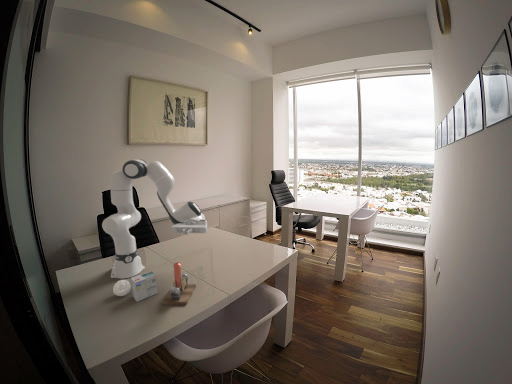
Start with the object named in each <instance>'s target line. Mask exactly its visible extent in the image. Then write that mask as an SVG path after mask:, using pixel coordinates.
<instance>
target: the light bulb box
mask: <svg viewBox="0 0 512 384" xmlns="http://www.w3.org/2000/svg"><path fill="white" fill-rule="evenodd" d="M130 284H131V291H132V297H134V298H133V299H134V300H135V302H136V303H138V302H140V301H142V300H145V299H147V298H150V297H152V296H154V295H157V294H158V283H157V275H156V273H155V272H154V271H152V270H150V271H147V272H144V273H141V274H137V275H135V276H132V277H130Z"/></svg>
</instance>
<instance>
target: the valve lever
mask: <svg viewBox="0 0 512 384" xmlns="http://www.w3.org/2000/svg"><path fill="white" fill-rule="evenodd" d="M173 273H174V274H173V277H174V280H175V287H177V288H180V287H181V286H182V275H181V274H182V267H181V262H174V263H173Z"/></svg>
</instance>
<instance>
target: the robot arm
mask: <svg viewBox="0 0 512 384" xmlns="http://www.w3.org/2000/svg"><path fill="white" fill-rule="evenodd" d="M143 177H148V178H149V179H150V180H151V181H152V182H153V183H154V185H155V186H156V189H157V191H156V195H157V197H158V200H159V201H160V204H161V205H162V206H163V208H164V210H165V211H166V213H167V216H169V219H170V222H171V223H172V224H173V225H171V227H170V228H171V229H170V231H171V233H172V234H177V233H179V234H182V235H189V234H207V232H208V221H207V220H206V216H205V214H204V213H202V211H201V210H202V209H200V207H199V205H198V204H197V203H195V202H193V201H187V202H186V203H184V204H183V205H181V206H179V208H177V209H175V207H174V206H173V204H172V202H171V201H170V199H169V196H170V194H171V192H172V190H173V189H174V187H175V185H176V184H175V183H176V181H175V179H176V178H175V177H174V176H173V174H172V173H171V172H170V171H169V169H167V167H166V166H165V165H164V164H163V163H162V162H160V161H159V160H152V161H150V162H148V163H147V162H146V160H144V159H141V158H134V159H130V160H128V161H126V162H125V163H123V165H122V169H119V170H115V171H114V172H112V173H111V177H110V199H111V200H110V201H111V204H112V205H114V206H116V208H117V209H116V210H117V213H113V214H111V215H109V216H108V217H106V218H104V219H103V221H102V223H101V227H102V229H103V231H104V232H105V233H106V234H108V235H109V236H110V237H111V238H112V240H113V243H114V250H115V254H114V258H115V260H114V262H112V263H111V267H112V268H111V272H110V278H111V279H129V278H132V277H135V276H138V275H139V274H140V273H141V272H142V271H143V270H144V269H146V268H145V266H144V265H143V264H142V259H141V257H140V256H139V255H138V253H139V251H138V249H137V243H136V238H135V237H136V236H134V235H132V234H131V233H130V230H129V229H131V228H132V227H135V226H136V225H137V224H138V223H140V221H141V219H142V214H141V212H140V211H139V210H137V208H136V207H135V202H134V197H133V196H134V195H133V181H134V180H137V179H140V178H143Z"/></svg>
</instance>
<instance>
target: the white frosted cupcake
mask: <svg viewBox="0 0 512 384" xmlns="http://www.w3.org/2000/svg"><path fill="white" fill-rule="evenodd" d="M112 290H113V294H114V295H115V296H116V297H124V296H126V295H128V294H129V292H130V291H131V290H132V284H131V281H129V280H127V279H120V280H117V282H116V283H115V284H114V285H113V288H112Z"/></svg>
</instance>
